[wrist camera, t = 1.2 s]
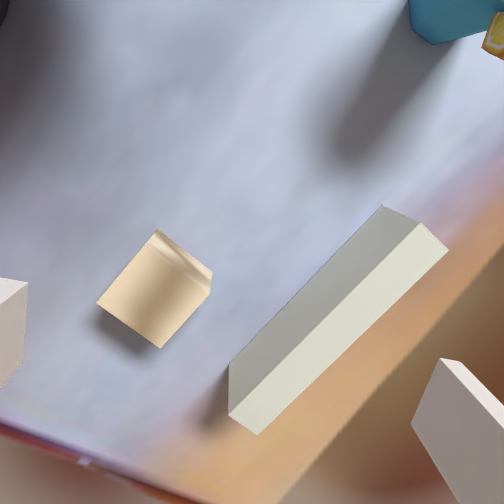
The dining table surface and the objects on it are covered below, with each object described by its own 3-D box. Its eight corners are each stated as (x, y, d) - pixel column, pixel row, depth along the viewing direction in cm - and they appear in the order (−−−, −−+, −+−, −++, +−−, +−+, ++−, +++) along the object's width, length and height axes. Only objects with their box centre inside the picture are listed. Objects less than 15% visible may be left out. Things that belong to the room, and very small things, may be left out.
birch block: (115, 279, 34) (96, 302, 29) (157, 228, 32) (144, 244, 28) (170, 319, 35) (160, 348, 30) (212, 272, 34) (209, 294, 29)
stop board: (228, 364, 36) (227, 415, 30) (381, 205, 33) (420, 222, 26) (252, 381, 37) (256, 435, 30) (405, 227, 33) (448, 250, 27)
